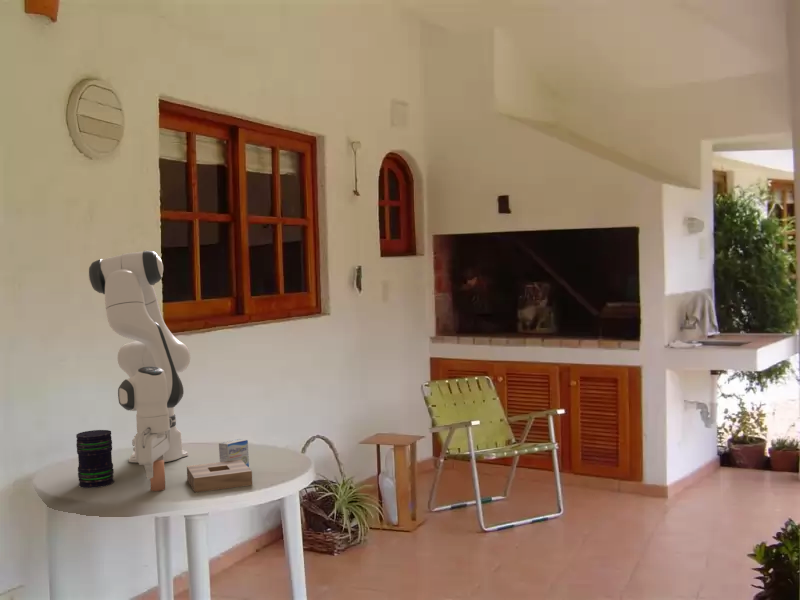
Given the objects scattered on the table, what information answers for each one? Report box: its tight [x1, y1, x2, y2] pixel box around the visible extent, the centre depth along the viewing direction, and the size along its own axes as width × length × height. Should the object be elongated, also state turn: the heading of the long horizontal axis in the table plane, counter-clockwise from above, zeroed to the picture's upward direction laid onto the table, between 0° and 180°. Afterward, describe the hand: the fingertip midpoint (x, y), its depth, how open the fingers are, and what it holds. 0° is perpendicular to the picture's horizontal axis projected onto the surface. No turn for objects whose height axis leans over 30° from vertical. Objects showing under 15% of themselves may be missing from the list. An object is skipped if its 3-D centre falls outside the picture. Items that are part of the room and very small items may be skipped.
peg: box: [149, 460, 166, 492], centre depth 238 cm, size 4×4×8 cm
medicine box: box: [218, 438, 250, 468], centre depth 259 cm, size 8×4×9 cm, turn 137°
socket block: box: [186, 460, 253, 493], centre depth 243 cm, size 16×16×4 cm
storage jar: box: [75, 429, 115, 489], centre depth 247 cm, size 10×10×15 cm
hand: (155, 473), depth 237 cm, fingers open, 8 cm apart
